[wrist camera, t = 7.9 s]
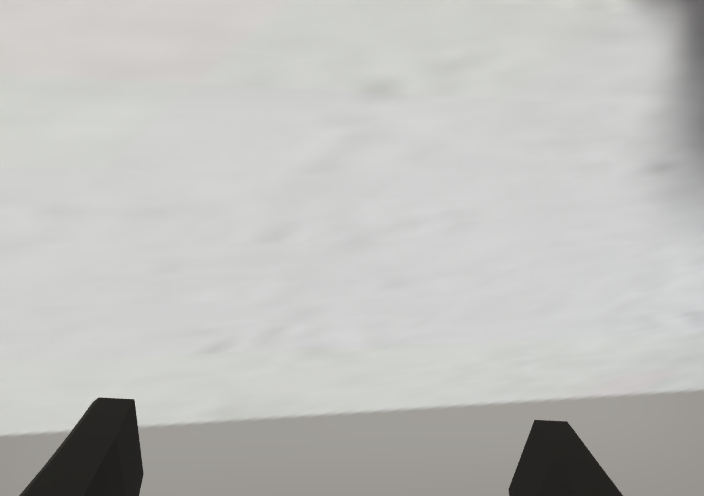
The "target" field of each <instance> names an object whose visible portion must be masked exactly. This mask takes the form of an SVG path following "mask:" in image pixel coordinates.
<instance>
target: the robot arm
mask: <svg viewBox="0 0 704 496" xmlns="http://www.w3.org/2000/svg"><path fill="white" fill-rule="evenodd" d="M142 478H143V467H142V459H141V450H140V442H139V434H138V426H137V417H136V409H135V401H134V399H115V398H98V399H96V400H95V401H94V402H93V403H92V404H91V405H90V407H89V408H88V410H87V411H86V412H85V414H84V415H83V417H82V418H81V419H80V421H79V422H78V423H77V425H76V426H75V427H74V429H73V430H72V431H71V433H70V434H69V435H68V437H67V438H66V439H65V441H64V442H63V443H62V444H61V446H60V447H59V448H58V449H57V451H56V452H55V453H54V455H53V456H52V457H51V458H50V459H49V461H48V462H47V463H46V465H45V466H44V467H43V468H42V470H41V471H40V472H39V473H38V474H37V475H36V477H35V478H34V479H33V480H32V481H31V483H30V484H29V485H28V486H27V487H26V488H25V490H24V491H23V492H22V493H21V494H20V496H139V492H140V488H141V483H142ZM509 495H510V496H623V495H622V494H621V493H620V491H619V490H618V489H617V487H616V486H615V485H614V483H613V482H612V481H611V479H610V478H609V477H608V475H607V474H606V473H605V471H604V470H603V469H602V467H601V466H600V465H599V463H598V462H597V461H596V459H595V458H594V457H593V456H592V454H591V453H590V451H589V450H588V449H587V447H586V446H585V445H584V443H583V442H582V441H581V439H580V438H579V437H578V435H577V434H576V433H575V431H574V430H573V429H572V427H571V426H570V425H569V424H568V422H563V421H544V420H535V421H534V423H533V426H532V429H531V431H530V434H529V436H528V439H527V442H526V444H525V447H524V450H523V453H522V455H521V458H520V461H519V463H518V466H517V469H516V472H515V474H514V477H513V479H512V482H511V485H510V487H509Z"/></svg>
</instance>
